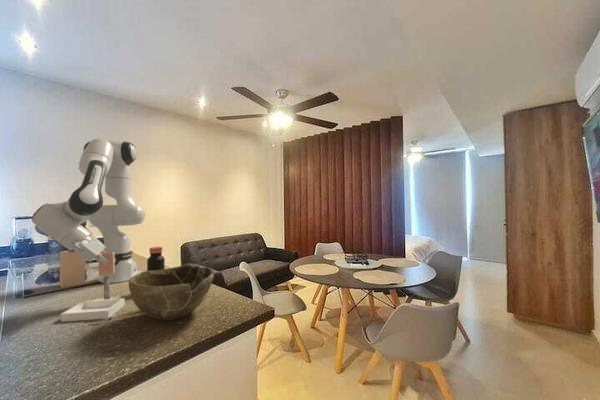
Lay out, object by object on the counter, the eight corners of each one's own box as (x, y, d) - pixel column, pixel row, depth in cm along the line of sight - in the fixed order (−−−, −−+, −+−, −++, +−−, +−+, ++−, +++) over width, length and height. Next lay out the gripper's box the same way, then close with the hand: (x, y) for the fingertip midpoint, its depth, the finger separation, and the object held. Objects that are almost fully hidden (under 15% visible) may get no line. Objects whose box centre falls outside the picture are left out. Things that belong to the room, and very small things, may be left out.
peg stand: (94, 301, 109) (94, 275, 109) (121, 297, 113) (121, 272, 113) (90, 309, 101) (90, 281, 101) (118, 304, 105) (118, 278, 105)
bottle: (167, 290, 122) (167, 246, 123) (158, 295, 116) (158, 249, 116) (153, 289, 123) (153, 246, 123) (143, 295, 116) (143, 248, 117)
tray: (83, 310, 100) (83, 300, 100) (124, 307, 103) (124, 298, 103) (60, 324, 88) (60, 314, 88) (108, 321, 91) (108, 310, 91)
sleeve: (100, 272, 108) (100, 252, 108) (114, 271, 110) (114, 251, 110) (98, 275, 104) (98, 254, 104) (113, 273, 106) (113, 253, 106)
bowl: (230, 310, 99) (230, 269, 99) (161, 343, 76) (161, 290, 76) (183, 297, 113) (183, 261, 113) (112, 322, 90) (112, 277, 90)
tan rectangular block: (59, 284, 132) (59, 239, 133) (82, 280, 139) (82, 238, 139) (62, 290, 124) (63, 242, 124) (86, 285, 130) (86, 240, 130)
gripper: (78, 236, 95) (112, 260, 99) (90, 230, 113) (118, 251, 117) (62, 249, 93) (97, 274, 97) (76, 241, 110) (105, 262, 115)
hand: (108, 261), depth 107 cm, fingers closed on sleeve, 5 cm apart
